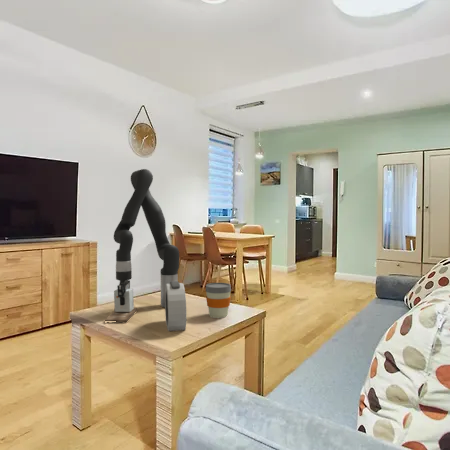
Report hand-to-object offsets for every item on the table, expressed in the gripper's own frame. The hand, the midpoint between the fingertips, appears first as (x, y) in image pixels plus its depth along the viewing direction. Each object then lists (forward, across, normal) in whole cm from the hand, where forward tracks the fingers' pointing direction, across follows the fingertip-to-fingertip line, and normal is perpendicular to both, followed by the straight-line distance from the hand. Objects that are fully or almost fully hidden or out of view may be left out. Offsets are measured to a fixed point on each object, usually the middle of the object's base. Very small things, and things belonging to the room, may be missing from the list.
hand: (124, 303), depth 178 cm
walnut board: (+6, -4, 0) cm, 7 cm away
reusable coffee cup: (+6, -3, -47) cm, 47 cm away
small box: (+4, 0, 0) cm, 4 cm away
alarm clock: (+6, -19, -28) cm, 34 cm away
